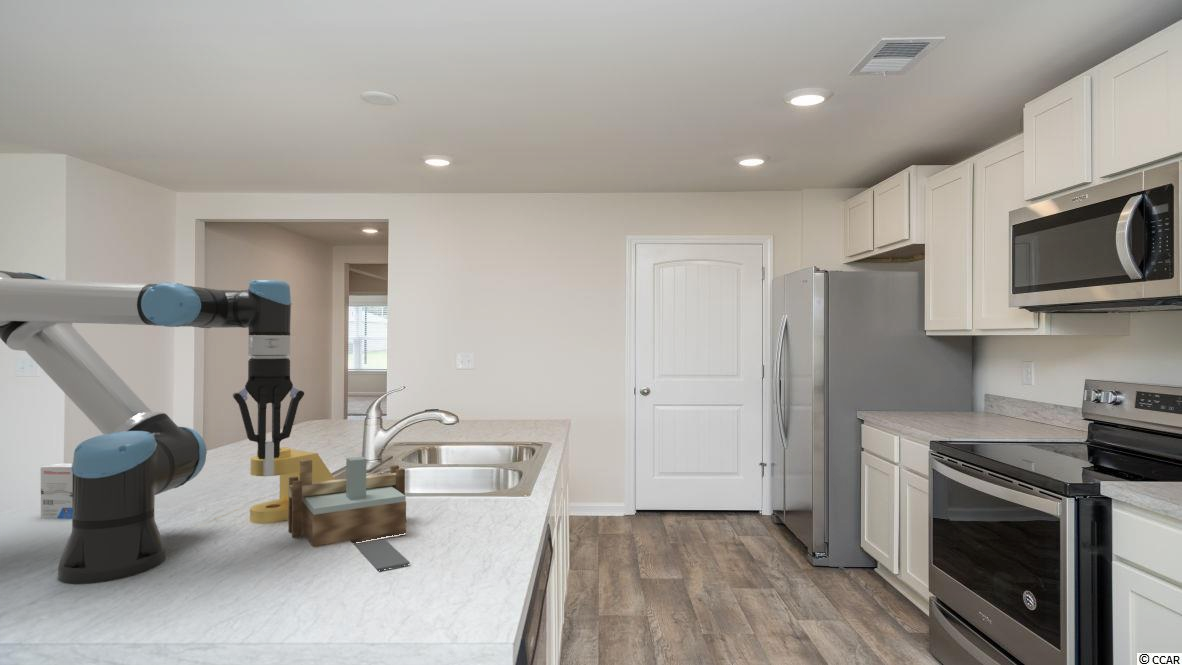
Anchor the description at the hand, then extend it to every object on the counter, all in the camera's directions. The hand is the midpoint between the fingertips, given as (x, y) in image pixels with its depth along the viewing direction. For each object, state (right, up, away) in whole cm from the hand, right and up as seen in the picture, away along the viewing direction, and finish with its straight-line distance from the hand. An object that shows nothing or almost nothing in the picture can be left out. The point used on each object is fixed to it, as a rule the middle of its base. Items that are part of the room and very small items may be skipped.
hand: (268, 474), depth 126 cm
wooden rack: (+15, -14, +5) cm, 21 cm away
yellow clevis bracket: (-4, -14, +19) cm, 24 cm away
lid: (+15, -7, +5) cm, 17 cm away
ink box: (-55, -14, +17) cm, 59 cm away
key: (+13, -5, +9) cm, 16 cm away
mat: (+19, -14, -12) cm, 27 cm away
